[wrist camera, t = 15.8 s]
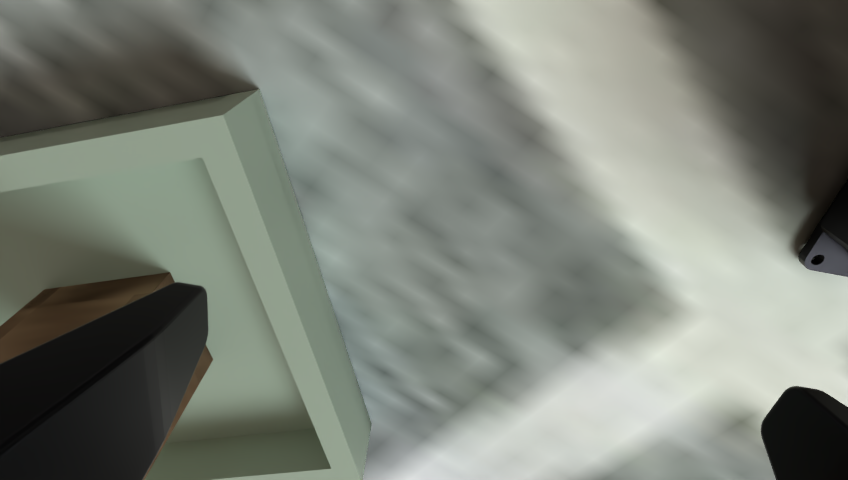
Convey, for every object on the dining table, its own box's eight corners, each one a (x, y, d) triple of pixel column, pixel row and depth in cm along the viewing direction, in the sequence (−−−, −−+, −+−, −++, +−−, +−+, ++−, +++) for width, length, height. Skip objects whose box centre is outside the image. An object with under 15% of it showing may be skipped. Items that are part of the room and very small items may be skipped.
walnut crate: (169, 271, 22) (-98, 579, 11) (213, 359, 24) (27, 682, 13) (44, 289, 22) (-322, 594, 12) (98, 372, 25) (-165, 689, 14)
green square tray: (259, 89, 19) (223, 114, 16) (371, 423, 27) (362, 482, 24) (-152, 166, 21) (-254, 202, 18) (71, 454, 30) (28, 511, 26)
